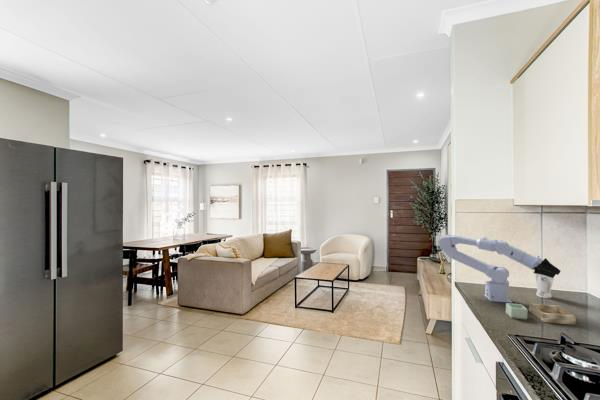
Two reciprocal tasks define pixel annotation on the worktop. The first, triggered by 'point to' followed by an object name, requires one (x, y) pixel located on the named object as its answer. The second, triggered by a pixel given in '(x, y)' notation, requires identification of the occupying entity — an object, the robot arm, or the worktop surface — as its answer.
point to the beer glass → (544, 286)
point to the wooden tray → (552, 314)
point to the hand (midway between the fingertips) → (556, 274)
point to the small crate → (516, 311)
